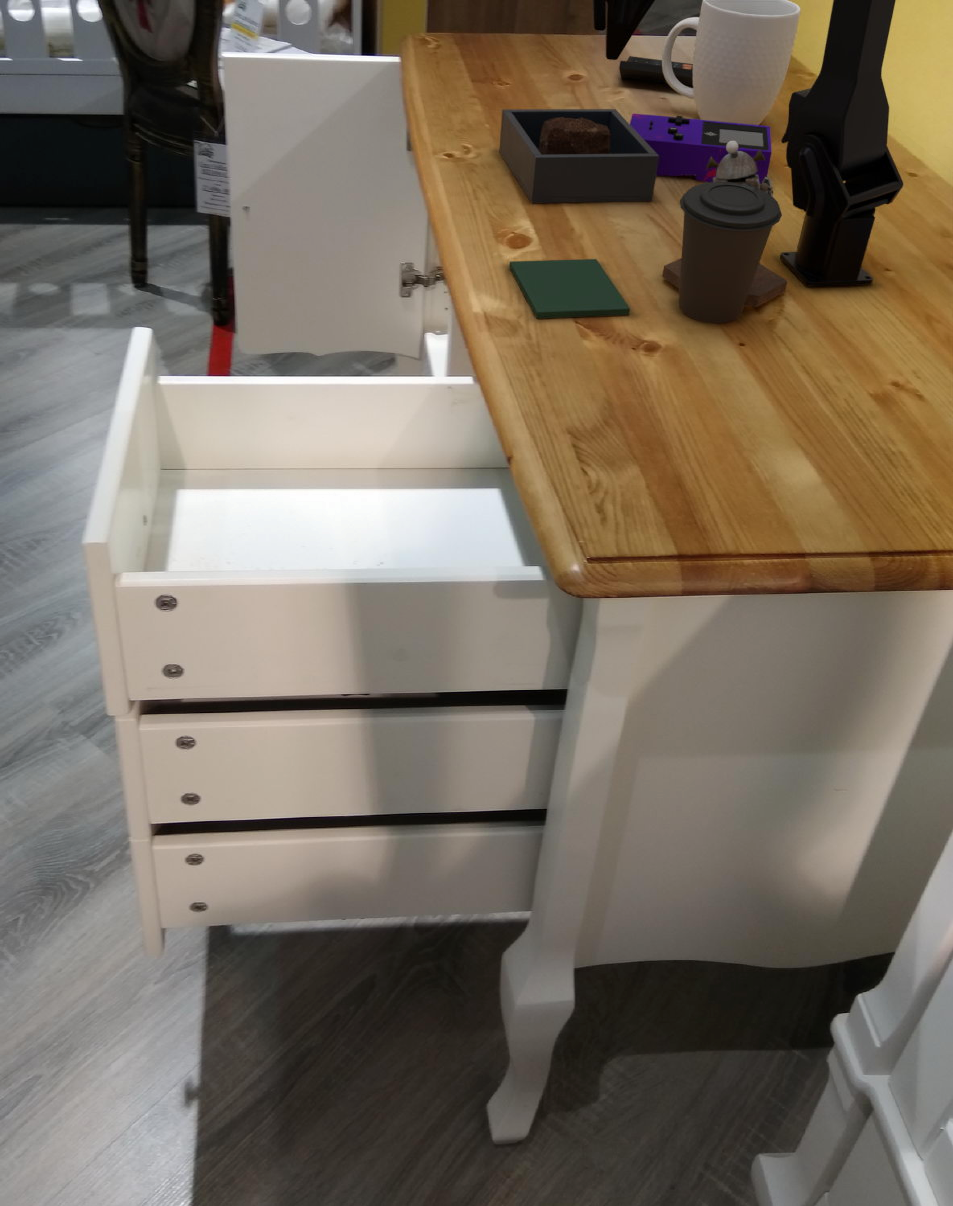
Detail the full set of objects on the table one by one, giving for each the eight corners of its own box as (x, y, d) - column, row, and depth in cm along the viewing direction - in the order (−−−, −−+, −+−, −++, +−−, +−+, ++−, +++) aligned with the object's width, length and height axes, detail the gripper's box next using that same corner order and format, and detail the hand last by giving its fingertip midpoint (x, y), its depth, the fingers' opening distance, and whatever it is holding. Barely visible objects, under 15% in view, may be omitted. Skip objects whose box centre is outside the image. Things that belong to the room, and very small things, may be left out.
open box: (652, 201, 117) (659, 156, 115) (531, 203, 115) (535, 157, 112) (610, 151, 128) (615, 108, 125) (498, 152, 126) (502, 109, 123)
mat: (629, 315, 97) (630, 308, 97) (536, 318, 95) (537, 312, 95) (595, 265, 104) (596, 258, 104) (509, 267, 103) (509, 261, 103)
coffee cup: (759, 291, 101) (786, 179, 94) (756, 338, 95) (784, 222, 88) (666, 277, 102) (686, 165, 95) (657, 323, 96) (677, 207, 89)
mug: (638, 119, 138) (656, -2, 129) (670, 97, 145) (688, -19, 137) (760, 145, 133) (787, 21, 125) (786, 121, 141) (812, 2, 132)
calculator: (698, 71, 155) (702, 47, 153) (690, 96, 146) (694, 71, 144) (628, 63, 156) (631, 38, 154) (616, 86, 147) (620, 61, 145)
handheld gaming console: (633, 108, 128) (770, 121, 127) (627, 157, 132) (761, 170, 130) (626, 133, 121) (772, 148, 119) (620, 184, 124) (762, 198, 123)
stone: (605, 166, 123) (612, 117, 120) (612, 176, 121) (619, 126, 118) (534, 165, 122) (539, 116, 119) (540, 176, 120) (544, 125, 116)
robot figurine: (785, 274, 105) (817, 135, 99) (792, 311, 98) (828, 164, 91) (663, 259, 106) (686, 121, 99) (661, 295, 99) (686, 148, 92)
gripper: (536, -167, 111) (517, 9, 122) (556, -127, 97) (532, 68, 108) (650, -155, 112) (622, 19, 123) (686, -114, 98) (650, 78, 109)
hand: (605, 44), depth 115 cm, fingers open, 9 cm apart
